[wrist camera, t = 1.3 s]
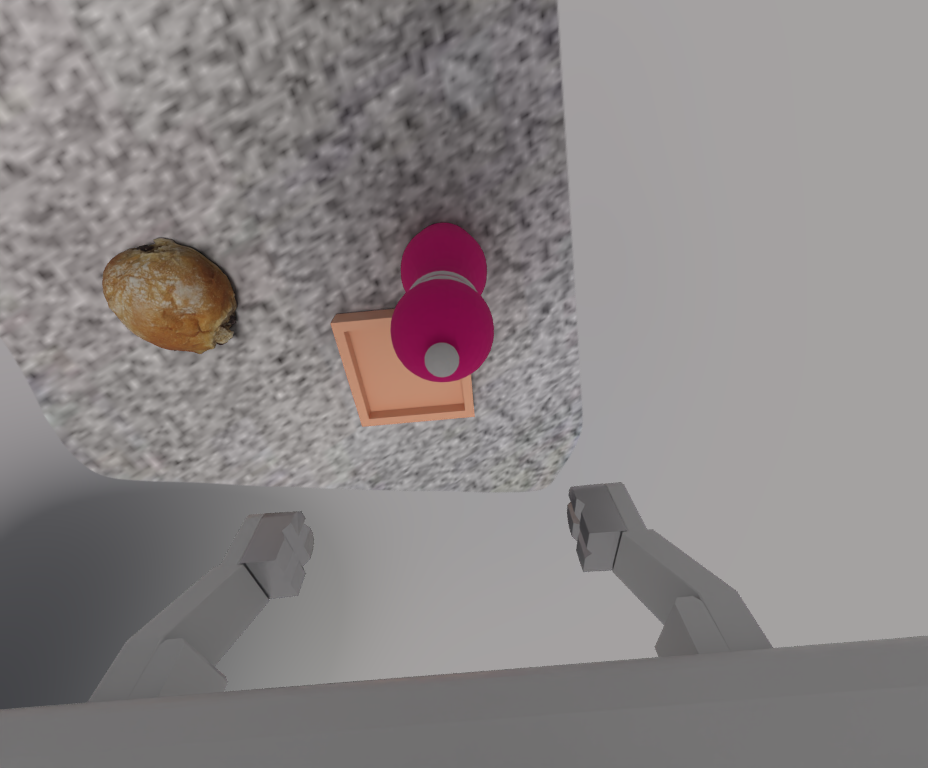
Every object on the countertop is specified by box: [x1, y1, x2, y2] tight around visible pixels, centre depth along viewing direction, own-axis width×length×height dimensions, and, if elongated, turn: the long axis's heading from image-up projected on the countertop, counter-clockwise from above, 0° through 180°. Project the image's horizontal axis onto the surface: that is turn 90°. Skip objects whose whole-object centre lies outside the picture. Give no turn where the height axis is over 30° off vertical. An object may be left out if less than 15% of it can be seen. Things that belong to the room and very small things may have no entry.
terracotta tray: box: [331, 309, 475, 427], centre depth 40 cm, size 13×13×2 cm
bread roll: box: [102, 238, 237, 354], centre depth 34 cm, size 10×10×8 cm
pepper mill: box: [390, 223, 494, 382], centre depth 27 cm, size 7×7×20 cm
